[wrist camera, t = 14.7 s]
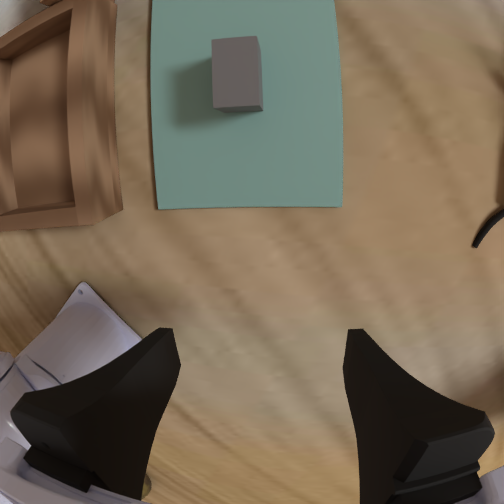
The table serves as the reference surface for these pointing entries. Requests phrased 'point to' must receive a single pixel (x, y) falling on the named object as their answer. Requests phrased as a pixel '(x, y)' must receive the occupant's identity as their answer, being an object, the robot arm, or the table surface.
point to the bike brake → (488, 227)
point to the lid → (246, 103)
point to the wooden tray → (59, 118)
